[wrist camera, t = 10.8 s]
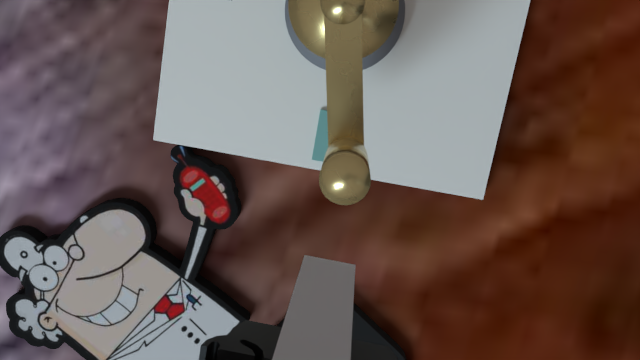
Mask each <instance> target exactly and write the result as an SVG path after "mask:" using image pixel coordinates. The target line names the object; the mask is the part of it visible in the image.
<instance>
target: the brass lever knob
mask: <svg viewBox="0 0 640 360" xmlns="http://www.w3.org/2000/svg"><path fill="white" fill-rule="evenodd" d="M288 11H289V17H290V22H291V24H292V27H293V30H294V32H295V33H296V35H297V37H298V38H299V40H300V41H301V42H302V43H303V44H304V46H305V47H306V48H308V49H309V50H310V51H311V52H313V53H314V54H316V55H318V56H320V57H322V58H324V59H326V91H327V123H328V148H327V151H326V154H325V157H324V161H323V164H322V168H321V171H320V175H319V184H320V188H321V191H322V192H323V194H324V195H325V196H326V198H328V199H329V200H330V201H332V202H334V203H336V204H339V205H350V204H354V203H356V202H358V201H360V200H361V199H362V198H363V197H364V196H365V195H366V194H367V192H368V190H369V188H370V183H371V176H370V169H369V162H368V155H367V151H366V149H365V147H364V121H363V69H362V58H364V57H366V56H368V55H370V54H372V53H373V52H375V51H376V50H377V49H378V48H380V47H381V46H382V45H383V44H384V42H385V41H386V40H387V39H388V37H389V36H390V34H391V33H392V31H393V28H394V26H395V24H396V20H397V17H398V11H399V0H288Z"/></svg>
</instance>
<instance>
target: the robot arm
mask: <svg viewBox="0 0 640 360" xmlns="http://www.w3.org/2000/svg"><path fill="white" fill-rule="evenodd" d="M354 282H355V265H353V264H348V263H343V262H338V261H333V260H327V259H322V258H317V257H312V256H306V255H305V256H304V259H303V262H302V265H301V268H300V272H299V275H298V278H297V281H296V284H295V288H294V291H293V294H292V297H291V300H290V304H289V307H288V310H287V313H286V316H285V320H284V323H283V326H282V327H278V326H273V325H268V324H263V323H258V322H253V321H248V320H245V321H243V322H242V323H240V324H238V325H237V326H235V327H233V328H232V330H231V332H230V334H229V335H221V336H215V337H213V338H210V339H207V340H206V341H205V342H204V343H203V344H202V345H201V347H200V354H199V360H398V358H397V357H396V355H395V354H394V353H393V352H392V350H391V349H390V348H389V347H388V346H383V345H378V344H373V343H368V342H363V341H358V340H353V339H352V322H353V302H354Z"/></svg>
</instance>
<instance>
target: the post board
mask: <svg viewBox="0 0 640 360" xmlns="http://www.w3.org/2000/svg"><path fill="white" fill-rule="evenodd" d="M529 5H530V0H399V11H398V17H397V20H396V24H395V26H394V28H393V31H392V33H391V34H390V36H389V37H388V39H387V40H386V41H385V42H384V44H383V45H382V46H381V47H380V48H378V49H377V50H376V51H375V52H373V53H372V54H370V55H368V56H366V57H364V58H362V69H363V121H364V147H365V149H366V151H367V155H368V162H369V169H370V176H371V180H377V181H382V182H388V183H393V184H399V185H404V186H410V187H415V188H421V189H426V190H432V191H437V192H443V193H448V194H454V195H459V196H465V197H470V198H476V199H482V200H483V198H484V193H485V189H486V185H487V181H488V177H489V172H490V168H491V164H492V160H493V156H494V151H495V147H496V143H497V139H498V135H499V130H500V126H501V122H502V118H503V114H504V109H505V105H506V101H507V97H508V93H509V89H510V84H511V80H512V76H513V72H514V68H515V63H516V59H517V55H518V51H519V47H520V42H521V38H522V34H523V30H524V26H525V21H526V17H527V13H528V9H529ZM153 140H156V141H161V142H167V143H172V144H178V145H183V146H189V147H194V148H200V149H205V150H211V151H217V152H222V153H228V154H233V155H239V156H244V157H250V158H255V159H261V160H266V161H272V162H277V163H283V164H288V165H294V166H299V167H305V168H310V169H316V170H321V168H322V164H323V161H324V157H325V154H326V151H327V148H328V123H327V91H326V59H324V58H322V57H320V56H318V55H316V54H314V53H313V52H311V51H310V50H309V49H308V48H306V47H305V46H304V44H303V43H302V42H301V41H300V40H299V38H298V37H297V35H296V33H295V32H294V30H293V27H292V24H291V22H290V17H289V11H288V0H169V6H168V15H167V24H166V33H165V41H164V50H163V59H162V67H161V76H160V85H159V93H158V102H157V111H156V119H155V128H154V137H153Z"/></svg>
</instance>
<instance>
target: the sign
mask: <svg viewBox="0 0 640 360" xmlns="http://www.w3.org/2000/svg"><path fill="white" fill-rule="evenodd" d="M171 158H172V159H173V160H174V161H175V162H176V163H177V165H176V167H175V169H174V172H173V179H174V183H175V187H174V194H175V196H176V197H177V199H178V203H179V208H180V210H181V212H182V214H183V215H184V216H185V217H186V218H187V219H189V220H191V221H193V226H192V230H191V233H190V237H189V241H188V245H187V248H186V251H185V255H184V258H183V262H182V261H180V260H179V259H178V258H176V257H175V256H173V255H172V254H170V253H169V252H168V251H166V250H164V249H163V248H161V247H160V246H158V245H156V244H155V243H154V241H155V239H156V234H157V230H156V228H157V227H156V223H155V220H154V218H153V216H152V214H151V213H150V211H149V210H148V209H147V208H146V207H145V206H143V205H142V204H140V203H139V202H137V201H134V200H131V199H126V198H118V199H112V200H108V201H105V202H103V203H101V204H99V205H98V206H96V207H94V208H92V209H90V210H88V211H87V212H85V213H84V214H83V215H81V216H80V217H79V218H77V219H76V220H75V221H74V222H73V223H72V224H71V225H70V226H69V227H68V228H67V229H66V230H65V231H63V232H62V233H61V234H57V235H53V236H51V237H49V238H48V237H47V236H46V235H45V234H44V233H42V232H41V231H39V230H38V229H36V228H34V227H31V226H24V225H23V226H19V227H16V228H14V229H12V230H10V231H8V232H6V233H4V234H3V235H2V236H1V237H0V266H1V268H2V269H3V270H4V271H5V272H7V273H8V274H9V275H10V276H12V277H18V278H19V279H20V280H21V283H22V285H23V286H24V289H22V290H20V291H19V292H17V293H16V294H14V295H13V296H12V297H10V298H9V299H8V301H7V303H6V311H7V315H8V317H9V319H10V321H9V327H10V330H11V331H12V333H13V334H14V335H16V336H17V337H20V338H24V339H25V340H26V341H27V342H28V343H29V344H31V345H33V346H37V347H40V346H46V347H47V348H50V349H56V348H59V347H60V346H61V345H62V344H63V343H64V342H65V343H67V344H68V345H69V346H70V347H72V348H73V349H74V350H75V351H76V352H77V353H79V354H80V355H81V356H82V357H84V358H85V359H86V360H199V354H200V347H201V345H202V344H203V343H204V342H205V341H206V340H207V339H210V338H213V337H215V336H221V335H229V334H230V332H231V330H232V328H233V327H235V326H237V325H238V324H240V323H242V322H243V321H245V320H248V321H249V319H250V313H249V312H248V311H247V310H246V309H245V308H243V307H242V306H241V305H239V304H238V303H237V302H235V301H234V300H233V299H232V298H231V297H229V296H228V295H227V294H226V293H225V292H223V291H222V290H221V289H219V288H218V287H217V286H215V285H214V284H213V283H211V282H210V281H208V280H207V279H205V278H204V277H202V276H201V275H200V274H199V272H200V270H201V267H202V264H203V262H204V259H205V257H206V254H207V252H208V249H209V247H210V244H211V242H212V239H213V237H214V234H215V231H216V229H226V228H228V227H230V226H231V225H232V224H233V223H234V222H235V221H236V219H237V218H238V216H239V214H240V212H241V202H240V199H239V197H238V189H237V187H236V185H235V179H234V177H233V176H232V175H231V174H230V172H229V171H228V169H227V168H226V167H224V166H223V165H216V164H215V163H213V162H212V161H211V160H209V159H208V158H206V157H203V156H200V155H196V154H195V153H194V152H193V150H192V148H191V147H189V146H183V145H177V146H175V147H174V148H173V149H172V150H171ZM284 320H285V318H284V319H283V320H282V321H281V322H280V323H279V324H278V325H277V326H278V327H282V326H283V323H284ZM352 339H353V340H358V341H363V342H368V343H373V344H378V345H383V346H388V347H389V348H390V349H391V350H392V352H393V353H394V354H395V355H396V357H397V358H398V360H406V356H405V353H404V351H403V350H402V348H401V347H400V346H399V345H398V344H397V343H396V342H395V341H394V340H393V339H392V338H391V337H390V336H389V335H388V334H386V333H385V332H384V331H383V330H382V329H381V328H380V327H379V326H378V325H377V324H376V323H375V322H374V321H373V320H372V319H370V318H369V317H368V316H367V315H366V314H365V313H364V312H363V311H362V310H361V309H360V308H359V307H358V306H357V305H356V304H355V303H354V302H353V322H352Z"/></svg>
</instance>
